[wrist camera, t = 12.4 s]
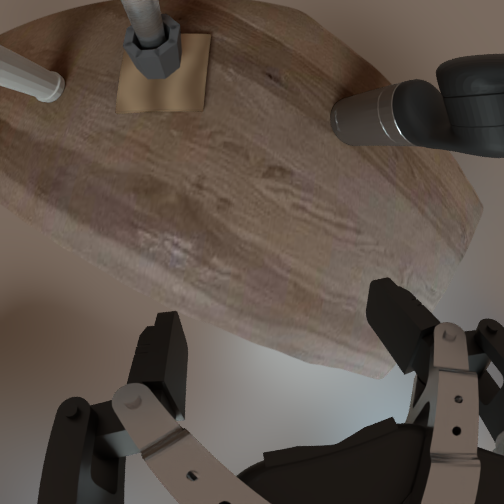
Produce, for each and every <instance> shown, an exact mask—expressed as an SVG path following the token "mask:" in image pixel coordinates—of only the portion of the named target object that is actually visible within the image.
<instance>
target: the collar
mask: <svg viewBox="0 0 504 504" xmlns="http://www.w3.org/2000/svg"><path fill="white" fill-rule="evenodd" d="M161 17H162V22H163V27H164V32H165V37H166V42H165V43H164V44H162V45H161V46H160V47H158V48H157V49H154V50H143V49H142V47H141V44H140V42H139V40H138V38H137V35H136V33H135V31H134V29H133V26H132V25H131V26H130V27H128V28H127V30H126V35H125V39H124V44H123V47H124V49H125V50H126V52H127V54H128V55H129V57H130V58H131V60H132V62H133V63H134V65H135V67H136V68H137V69H138V70H139V71H140V72H141V73H142V74H143V75H144V76H145V77H146V78H147V79H166V78H167V77H169V76H170V75H171V74H172V73H174V72H175V71H176V70H177V69H179V68H180V64H181V56H182V44H181V31H180V25H179V24H178V23H177V22H176V21H175V20H173V19H172V18H171V17H170V16H169V15H167V14H161Z"/></svg>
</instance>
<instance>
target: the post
mask: <svg viewBox="0 0 504 504" xmlns="http://www.w3.org/2000/svg"><path fill="white" fill-rule="evenodd" d="M121 1H122V4H123V6H124V8H125V11H126V13H127V15H128V17H129V20H130V22H131V24H132V26H133V29H134V31H135V33H136V35H137V38H138V40H139V42H140V44H141V47H142V49H143V50H154V49H157V48H158V47H160V46H161V45H162V44H164V43H165V42H166V37H165V32H164V27H163V22H162V17H161V12H160V7H159V2H158V0H121ZM210 40H211V34H181V44H182V56H181V64H180V68H179V69H177V70H176V71H175V72H174V73H172V74H171V75H170V76H169V77H167V78H166V79H147V78H146V77H145V76H144V75H143V74H142V73H141V72H140V71H139V70H138V69H137V68H136V67H135V65H134V63H133V62H132V60H131V58H130V57H129V55H128V54H127V52H126V50H125V49H124V54H123V60H122V65H121V71H120V78H119V85H118V93H117V101H116V111H115V113H117V114H126V113H141V112H173V111H188V112H203V107H204V95H205V85H206V74H207V65H208V56H209V48H210Z"/></svg>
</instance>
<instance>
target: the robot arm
mask: <svg viewBox="0 0 504 504" xmlns="http://www.w3.org/2000/svg"><path fill="white" fill-rule="evenodd" d="M436 77H437V82H438V85H439V89H440V92H441V93H440V92H439V91H438V90H437V89H436V88H435V87H434V86H433V85H432V84H430V83H429V82H426V81H424V80H418V79H415V80H409V81H405V82H402V83H398V84H393V85H389V86H386V87H382V88H378V89H375V90H371V91H367V92H364V93H361V94H357V95H354V96H351V97H347V98H344V99H342V100H339V101H338V102H337V103H336V104H335V105H334V107H333V109H332V111H331V125H332V128H333V131H334V132H335V134H336V136H337V137H338V138H339V139H340V140H341V141H343V142H344V143H346V144H348V145H352V146H363V145H365V146H421V147H427V148H432V149H442V150H449V151H455V152H460V153H465V154H470V155H476V156H482V157H491V158H504V54H487V55H475V56H465V57H459V58H455V59H452V60H449V61H446V62H444V63H442V64H441V65H440V66H439V67H438V68H437V70H436ZM366 317H367V321H368V323H369V325H370V326H371V327H372V329H373V330H374V331H375V333H376V334H377V336H378V337H379V339H380V340H381V341H382V343H383V344H384V346H385V347H386V348H387V350H388V351H389V353H390V354H391V356H392V357H393V359H394V360H395V362H396V363H397V364H398V366H399V367H400V369H401V370H402V372H403V373H404V374H407V373H410V372H412V371H415V372H416V376H415V378H414V384H413V390H412V396H411V402H410V408H409V413H408V416H407V419H406V422H405V423H401V424H396V422H395V420H394V418H393V417H391V418H388V419H386V420H383V421H381V422H378V423H375V424H373V425H370V426H367V427H364V428H363V429H361V430H360V431H358V432H356V433H355V434H353V435H351V436H350V437H348V438H346V439H345V440H343V441H342V442H340V443H337V444H335V445H324V446H296V447H292V448H287V449H282V450H276V451H270V452H264V453H263V456H264V460H263V461H261V462H258V463H256V464H254V465H252V466H250V467H248V468H247V469H245V470H244V471H242V472H241V473H240V474H238V475H237V476H235V475H234V474H233V473H232V472H230V471H229V470H228V469H227V468H226V467H225V466H224V465H223V464H221V463H220V462H219V461H218V460H217V459H216V458H215V457H214V456H213V455H212V454H211V453H210V452H208V450H207V449H206V448H205V447H204V446H202V444H201V443H199V441H197V439H196V438H195V437H193V435H192V434H190V432H188V431H187V430H186V429H185V428H184V429H183V428H182V427H181V426H180V425H179V424H178V423H177V422H176V421H179V420H185V397H186V378H187V362H188V347H187V342H186V338H185V335H184V332H183V329H182V325H181V322H180V319H179V315H178V313H177V311H172V312H163V313H158V314H157V317H156V321H155V326H147V327H146V329H145V330H144V331H143V332H142V333H141V335H140V337H139V340H138V344H137V347H136V351H135V355H134V358H133V362H132V366H131V369H130V373H129V378H128V381H127V385H125V386H122V387H121V388H119V389H118V390H117V391H116V392H115V394H114V396H113V398H112V400H110V401H107V402H103V403H99V404H95V405H89V403H88V402H87V401H86V400H85V399H83V398H81V397H72V398H69V399H67V400H65V401H64V402H63V403H62V404H61V405H60V406H59V408H58V410H57V413H56V417H55V420H54V424H53V427H52V431H51V435H50V439H49V443H48V447H47V451H46V456H45V461H44V465H43V471H42V477H41V482H40V488H39V495H38V503H37V504H124V482H125V462H126V456H129V455H133V454H137V453H142V454H141V456H142V458H143V459H144V461H145V462H146V463H147V465H148V466H149V468H150V469H151V470H152V472H153V473H154V474H155V475H156V477H157V478H158V479H159V481H160V482H161V483H162V484H163V485H164V487H165V488H166V489H167V490H168V491H169V493H170V494H171V495H172V496H173V497H174V498H175V499H176V501H177V502H178V503H179V504H504V383H503V386H502V387H501V389H500V388H499V387H498V385H497V384H496V382H495V381H494V380H493V378H492V377H491V376H490V374H489V373H488V372H487V370H486V369H487V367H488V366H489V364H490V362H491V361H492V362H493V364H494V365H495V366H496V367H497V368H498V370H499V371H500V372H501V374H502V375H503V379H504V327H503V326H502V325H501V324H500V323H498V322H497V321H495V320H493V319H483V320H481V321H480V322H479V324H478V327H477V329H476V330H473V331H465V332H464V331H463V330H462V329H461V328H460V327H459V326H457V325H456V324H453V323H448V322H445V323H440V321H439V320H438V319H437V318H436V317H435V316H434V315H433V314H432V313H431V312H430V311H429V310H428V309H427V308H426V307H425V306H424V305H422V303H421V302H420V301H419V300H418V299H417V300H416V297H415V296H414V295H413V294H412V293H411V292H409V291H408V290H406V289H404V288H402V287H400V286H397V285H396V284H395V283H394V282H393V281H392V280H391V279H390V278H382V279H378V280H373V281H372V282H371V283H370V288H369V294H368V301H367V307H366ZM479 415H480V417H481V419H482V420H483V422H484V424H485V425H486V427H487V429H488V431H489V432H490V434H491V436H492V438H493V439H494V441H495V443H496V444H495V446H496V448H495V449H494V450H493V452H491V451H488V450H485V449H482V448H479V447H477V444H478V423H479V422H478V421H479Z"/></svg>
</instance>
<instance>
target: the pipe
mask: <svg viewBox="0 0 504 504" xmlns="http://www.w3.org/2000/svg"><path fill="white" fill-rule="evenodd" d="M0 86H3V87H7V88H10V89H13V90H17V91H20V92H23V93H26V94H29V95H32V96H35V97H36V98H37V99H38V100H40V101H42V102H53V101H54V100H56V99H58V97H59V96H60V95H61V94H62V92H63V90H64V86H65V82H64V79H63V77H62V76H61V75H59V74H58V73H57V72H54V71H51V72H50V71H48V70H47V69H45V68H43V67H41V66H39V65H37V64H36V63H34V62H32V61H30V60H28V59H26V58H24V57H23V56H21V55H19V54H17V53H15V52H13V51H11V50H9V49H7V48H5V47H3V46H1V45H0Z"/></svg>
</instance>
